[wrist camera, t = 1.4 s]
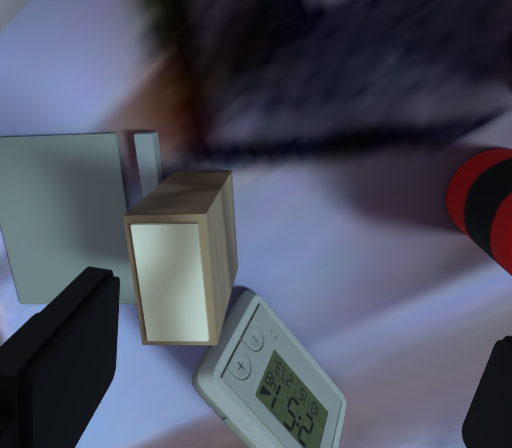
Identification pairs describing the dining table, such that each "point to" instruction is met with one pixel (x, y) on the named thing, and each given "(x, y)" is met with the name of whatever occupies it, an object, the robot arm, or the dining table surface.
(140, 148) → the rail
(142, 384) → the dining table surface
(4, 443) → the robot arm
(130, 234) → the block
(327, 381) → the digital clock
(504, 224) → the soda can
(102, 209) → the mat
